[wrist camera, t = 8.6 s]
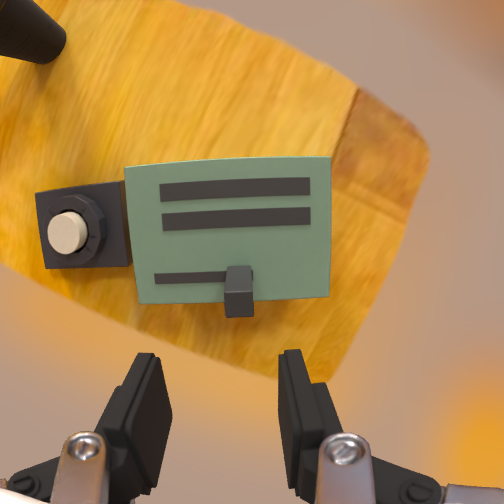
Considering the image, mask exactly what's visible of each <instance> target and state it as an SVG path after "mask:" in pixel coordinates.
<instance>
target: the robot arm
mask: <svg viewBox="0 0 504 504" xmlns="http://www.w3.org/2000/svg"><path fill="white" fill-rule="evenodd" d="M278 415H279V424H280V431H281V438H282V446H283V453H284V460H285V466H286V474H287V481H288V487H289V489H293V488H295V493H296V496H300V498H301V499H302V500H304V501H306V502H308V503H309V504H504V489H500V488H490V487H476V486H464V485H454V484H448V485H447V486H446V487H444V486H440V485H439V484H438V483H437V481H435V480H434V479H433V478H431V477H428V476H426V475H423V474H420V473H417V472H414V471H411V470H408V469H405V468H402V467H400V466H397V465H394V464H392V463H389V462H386V461H384V460H381V459H379V458H376V457H373V456H371V450H370V446H369V444H368V442H367V441H366V440H365V439H364V438H363V437H361V436H359V435H357V434H354V433H347V432H343V430H342V427H341V424H340V421H339V419H338V416H337V413H336V410H335V407H334V404H333V402H332V399H331V397H330V394H329V391H328V388H327V385H326V383H324V382H323V383H313V384H311V382H310V379H309V376H308V372H307V369H306V366H305V362H304V359H303V356H302V353H301V350H300V349H294V350H285V351H284V354H279V368H278ZM171 423H172V409H171V405H170V401H169V397H168V393H167V389H166V384H165V380H164V374H163V370H162V365H161V360H160V358H159V357H155V355H154V353H138V354H137V356H136V358H135V360H134V362H133V364H132V366H131V368H130V370H129V372H128V374H127V376H126V378H125V380H124V382H123V384H122V386H117V387H116V388H115V390H114V392H113V394H112V396H111V398H110V400H109V402H108V404H107V406H106V408H105V410H104V412H103V414H102V416H101V418H100V420H99V422H98V424H97V426H96V429H95V431H94V432H91V431H83V432H78V433H75V434H73V435H72V436H70V437H69V438H68V439H67V440H66V441H65V443H64V445H63V448H62V452H61V455H60V456H59V457H57V458H54V459H51V460H49V461H46V462H43V463H41V464H38V465H35V466H33V467H30V468H27V469H24V470H21V471H19V472H17V473H15V474H14V475H13V476H12V477H11V478H10V480H9V481H7V480H6V479H0V504H135V498H136V497H138V496H140V494H143V495H150V492H151V488H155V487H156V486H157V483H158V478H159V474H160V469H161V464H162V461H163V456H164V452H165V448H166V444H167V439H168V435H169V431H170V427H171Z"/></svg>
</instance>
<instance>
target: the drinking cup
mask: <svg viewBox="0 0 504 504" xmlns="http://www.w3.org/2000/svg"><path fill="white" fill-rule="evenodd" d="M65 42H66V33H65V31H64V29H63V28H62V27H60V26H59V25H58V24H57V23H56V22H55V21H54V20H53V19H52V18H51V17H50V16H49V15H48V14H47V13H46V12H45V11H43V10H42V9H41V8H40V7H39V6H38V5H37V4H36V3H35V2H34V1H33V0H0V55H2V56H6V57H11V58H16V59H20V60H25V61H29V62H33V63H37V64H46V63H49V62H51V61H52V60H54V59H55V58H56V57H57V56H58V55H59V54H60V52H61V51H62V49H63V47H64V45H65Z"/></svg>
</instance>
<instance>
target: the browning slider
mask: <svg viewBox="0 0 504 504" xmlns="http://www.w3.org/2000/svg"><path fill="white" fill-rule="evenodd" d="M224 304H225V316H226V318H233V317H253V316H254V302H253V285H252V273H251V266H250V265H244V266H228V267H227V273H226V280H225V287H224Z"/></svg>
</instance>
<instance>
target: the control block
mask: <svg viewBox="0 0 504 504" xmlns="http://www.w3.org/2000/svg"><path fill="white" fill-rule="evenodd" d="M35 200H36V209H37V218H38V226H39V233H40V239H41V246H42V252H43V258H44V263H45V268H46V269H63V268H95V267H125V266H129V265H130V264H131V263H132V262H133V257H132V249H131V241H130V232H129V224H128V218H127V207H126V204H127V201H126V188H125V180H121V181H113V182H104V183H96V184H89V185H82V186H74V187H68V188H61V189H54V190H48V191H43V192H37V193H35ZM66 212H75V213H78V214H79V215H80V216H81V217H82V218H83V219H84V221H85V222H86V225H87V229H88V235H87V240H86V242H85V244H84V245H83V246H82V247H81V248H79V249H77V250H75V251H74V252H72V253H70V254H62V253H59V252H57V251H56V250H55V249H54V248H53V247H52V245H51V244H50V242H49V239H48V226H49V223H50V221H51V220H52V219H53V218H54V217H55V216H57V215H60V214H63V213H66Z"/></svg>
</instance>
